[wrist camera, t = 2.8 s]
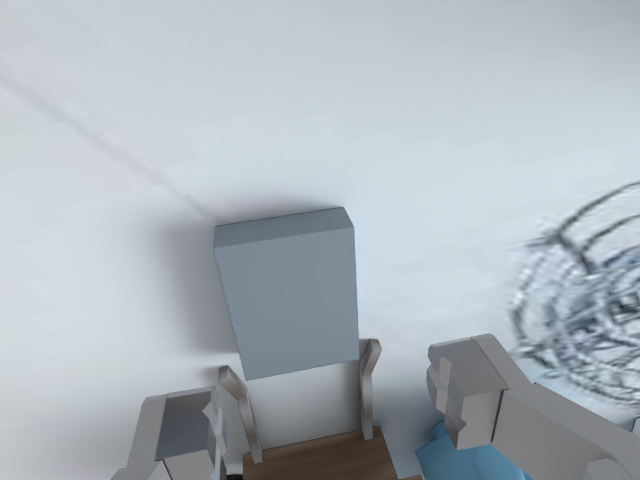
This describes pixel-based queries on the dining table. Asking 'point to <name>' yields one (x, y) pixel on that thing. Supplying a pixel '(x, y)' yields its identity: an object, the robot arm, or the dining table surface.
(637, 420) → the medicine bottle
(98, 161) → the dining table surface
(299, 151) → the dining table surface
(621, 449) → the robot arm
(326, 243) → the shell
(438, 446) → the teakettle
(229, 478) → the french press
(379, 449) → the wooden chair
